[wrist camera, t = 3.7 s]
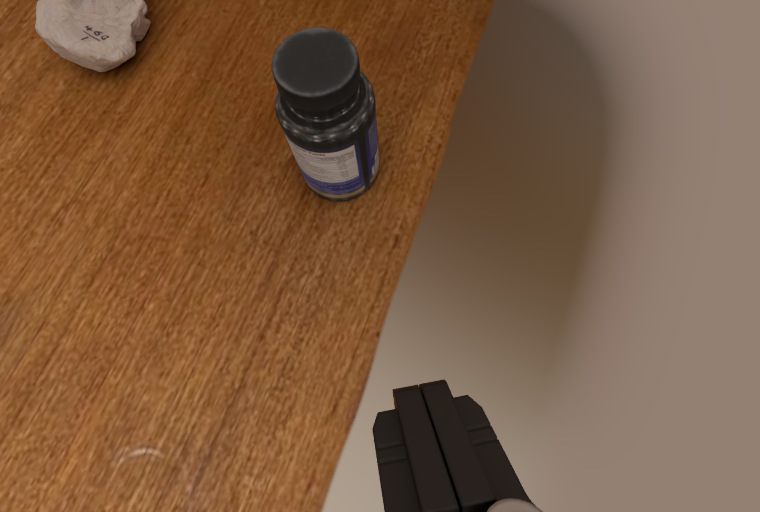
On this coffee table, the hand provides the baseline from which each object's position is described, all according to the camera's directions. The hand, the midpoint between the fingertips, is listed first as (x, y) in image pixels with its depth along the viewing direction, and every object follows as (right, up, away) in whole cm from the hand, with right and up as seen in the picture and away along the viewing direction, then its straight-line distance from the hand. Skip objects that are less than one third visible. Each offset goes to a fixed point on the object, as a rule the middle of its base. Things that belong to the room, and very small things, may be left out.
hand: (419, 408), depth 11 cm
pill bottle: (-4, +11, +20) cm, 23 cm away
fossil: (-26, +25, +26) cm, 44 cm away
